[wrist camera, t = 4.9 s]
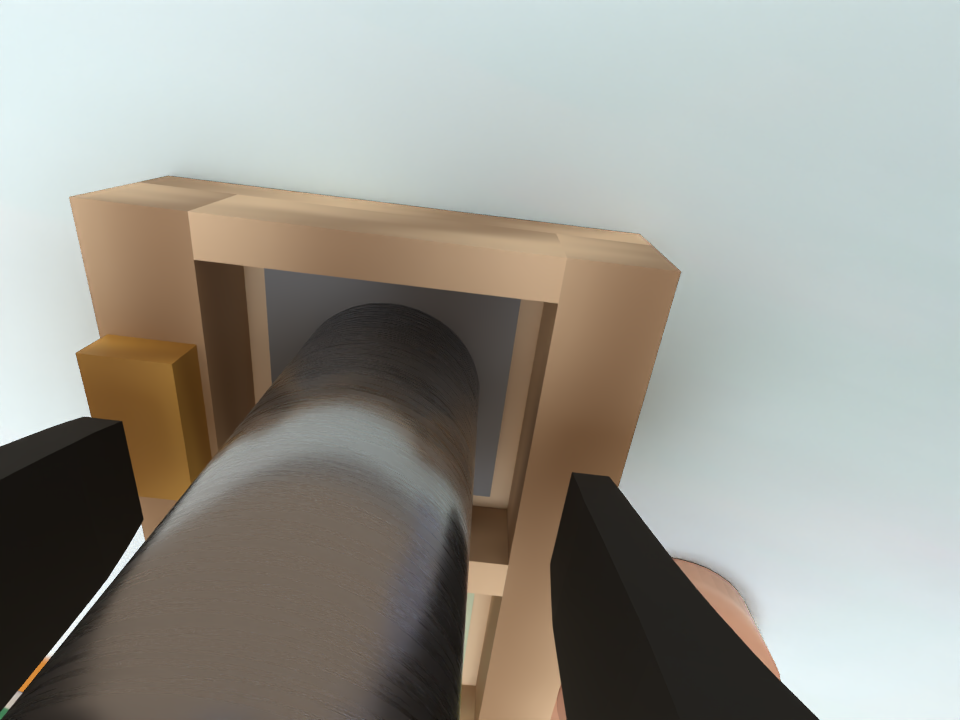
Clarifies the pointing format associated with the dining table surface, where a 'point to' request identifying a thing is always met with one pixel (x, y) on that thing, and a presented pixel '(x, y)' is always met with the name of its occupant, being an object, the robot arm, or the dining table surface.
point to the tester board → (382, 279)
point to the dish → (725, 605)
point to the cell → (302, 551)
